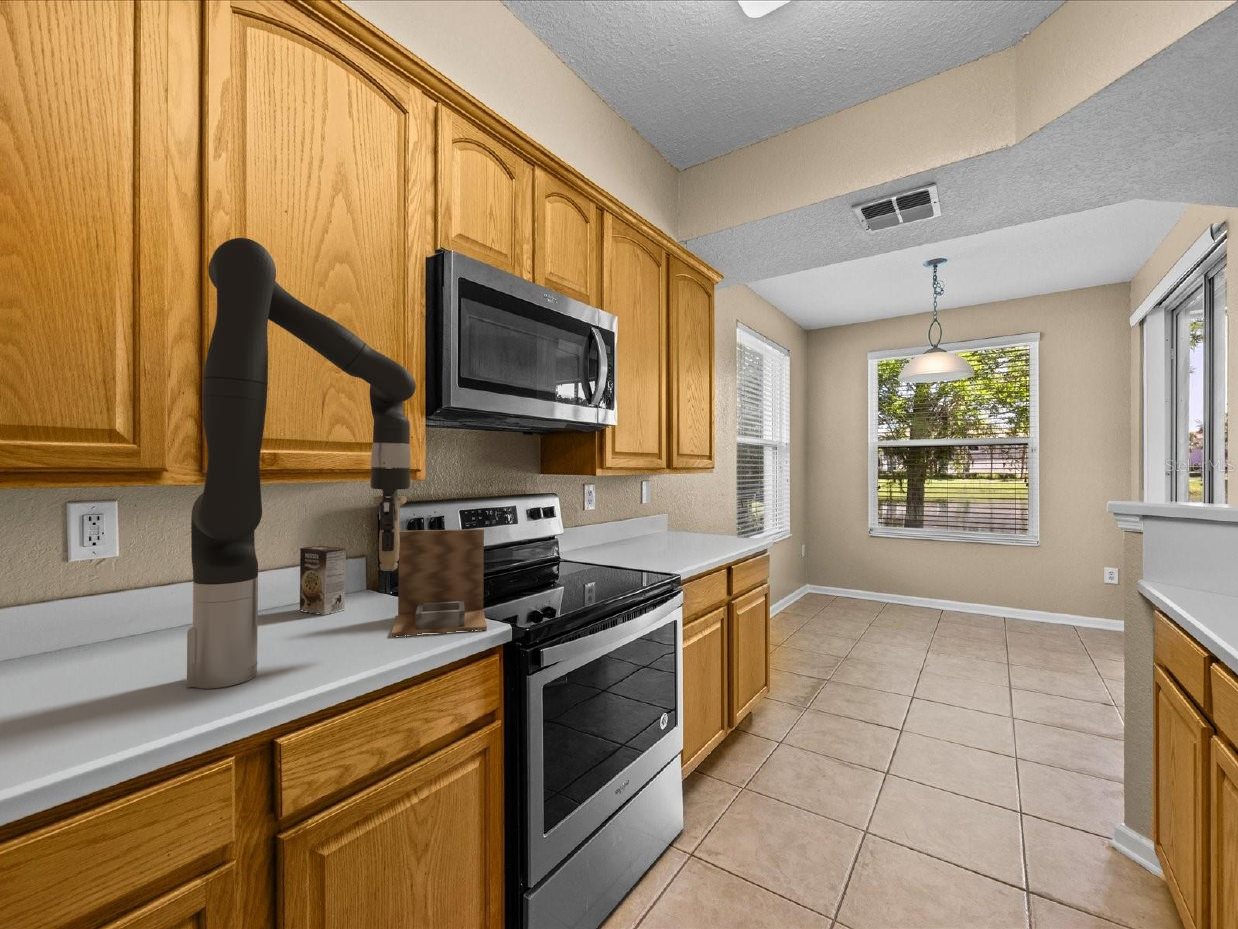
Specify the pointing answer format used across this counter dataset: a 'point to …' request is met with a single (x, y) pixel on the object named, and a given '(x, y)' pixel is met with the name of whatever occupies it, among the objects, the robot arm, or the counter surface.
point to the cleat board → (440, 582)
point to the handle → (391, 557)
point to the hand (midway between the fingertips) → (389, 549)
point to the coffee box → (322, 579)
